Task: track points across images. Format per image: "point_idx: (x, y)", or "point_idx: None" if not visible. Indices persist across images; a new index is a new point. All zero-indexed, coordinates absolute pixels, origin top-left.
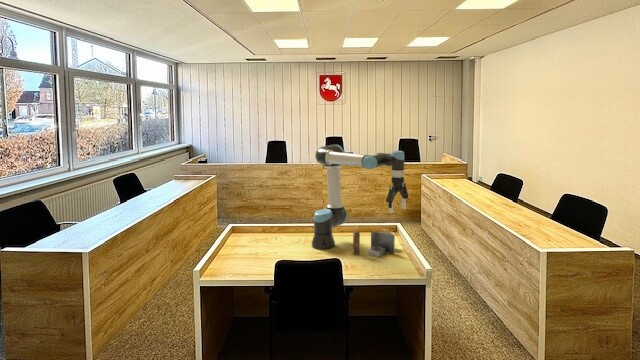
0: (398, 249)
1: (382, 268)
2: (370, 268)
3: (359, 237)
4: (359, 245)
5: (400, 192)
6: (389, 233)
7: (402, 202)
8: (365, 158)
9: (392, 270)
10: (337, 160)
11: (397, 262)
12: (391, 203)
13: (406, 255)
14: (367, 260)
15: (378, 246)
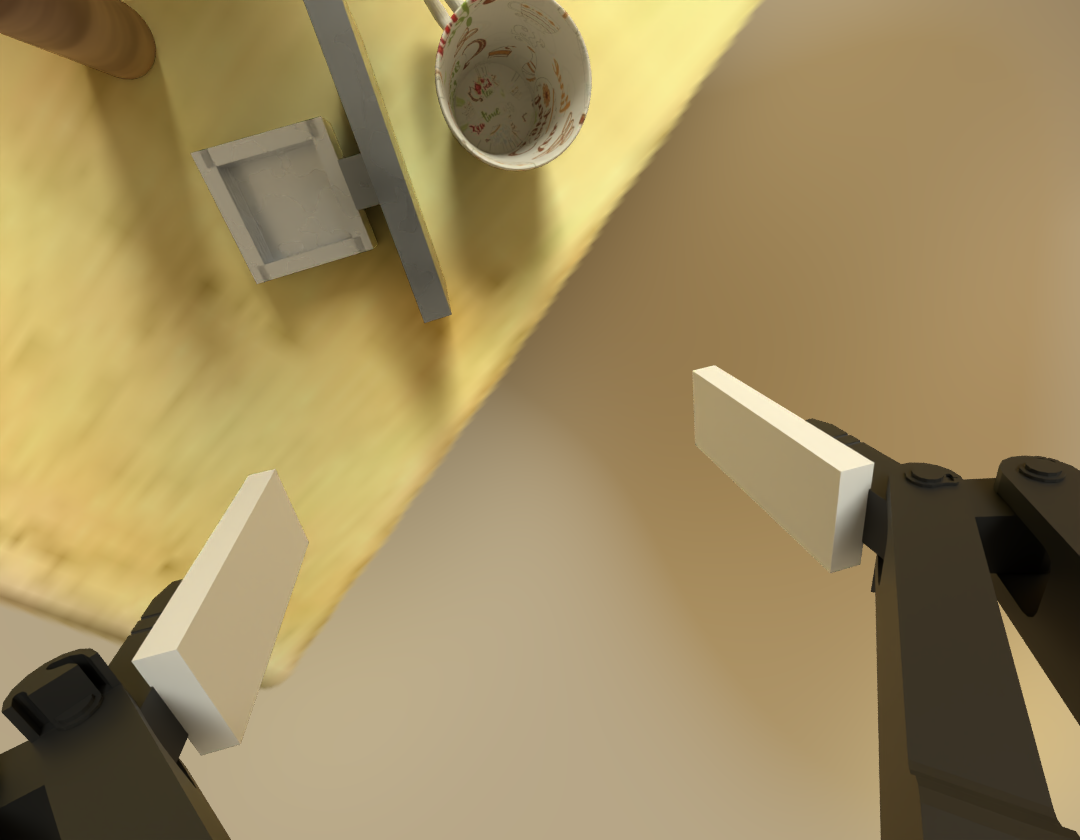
0: (543, 225)
1: (150, 474)
2: (55, 428)
3: (17, 20)
4: (87, 52)
5: (898, 730)
6: (577, 77)
7: (767, 447)
8: None
9: (197, 533)
10: None
11: (328, 441)
12: (189, 716)
13: (485, 371)
14: (129, 271)
15: (339, 165)
